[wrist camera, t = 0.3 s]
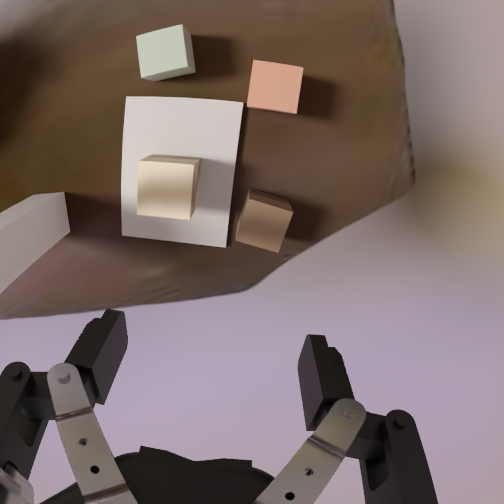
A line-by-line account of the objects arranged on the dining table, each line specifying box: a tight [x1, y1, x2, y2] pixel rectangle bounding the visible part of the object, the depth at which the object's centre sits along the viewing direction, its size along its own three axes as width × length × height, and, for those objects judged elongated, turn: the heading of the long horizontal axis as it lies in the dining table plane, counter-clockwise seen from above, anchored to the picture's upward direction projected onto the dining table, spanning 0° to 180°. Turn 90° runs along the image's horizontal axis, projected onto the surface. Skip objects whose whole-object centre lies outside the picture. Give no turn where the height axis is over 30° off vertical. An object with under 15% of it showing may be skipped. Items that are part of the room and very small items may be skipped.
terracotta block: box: [247, 60, 303, 114], centre depth 30 cm, size 5×5×5 cm
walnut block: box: [236, 188, 293, 252], centre depth 36 cm, size 5×5×5 cm
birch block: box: [137, 154, 201, 220], centre depth 34 cm, size 6×6×5 cm
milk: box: [0, 192, 70, 293], centre depth 28 cm, size 6×6×22 cm
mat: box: [121, 97, 243, 248], centre depth 36 cm, size 18×14×1 cm
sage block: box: [136, 24, 196, 81], centre depth 28 cm, size 5×5×5 cm
